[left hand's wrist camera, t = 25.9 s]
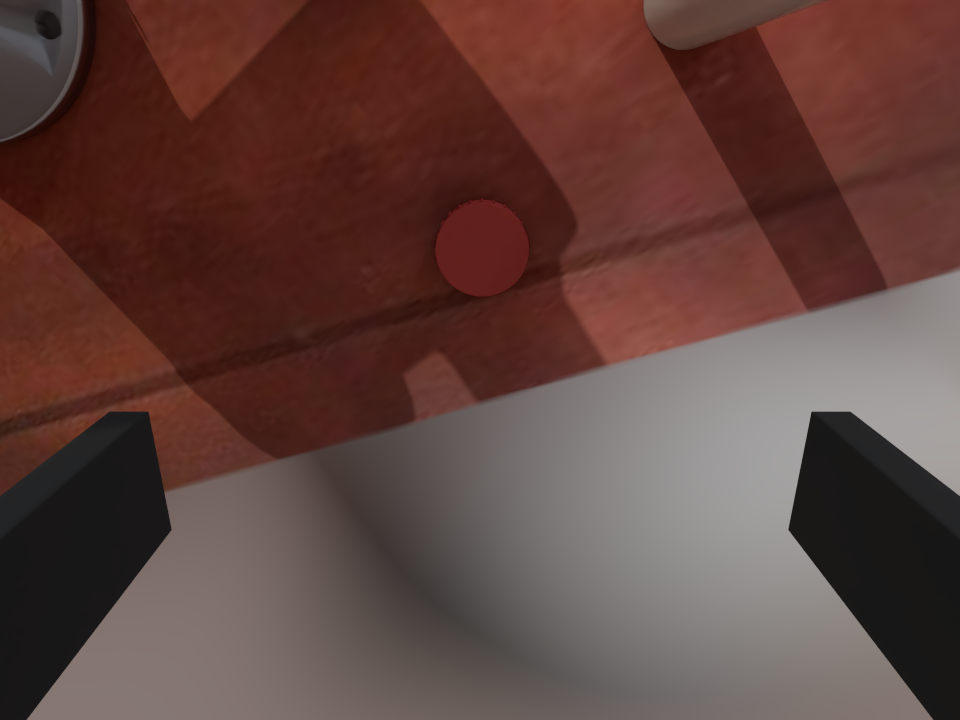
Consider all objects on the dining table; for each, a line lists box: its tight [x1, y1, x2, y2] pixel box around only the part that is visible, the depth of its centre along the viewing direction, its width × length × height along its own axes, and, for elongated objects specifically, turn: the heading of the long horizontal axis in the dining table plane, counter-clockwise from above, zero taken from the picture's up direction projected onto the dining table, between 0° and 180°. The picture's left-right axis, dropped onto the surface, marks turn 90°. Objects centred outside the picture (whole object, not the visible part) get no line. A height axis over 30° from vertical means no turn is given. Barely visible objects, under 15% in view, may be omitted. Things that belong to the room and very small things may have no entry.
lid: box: [434, 198, 530, 297], centre depth 38 cm, size 6×6×2 cm
